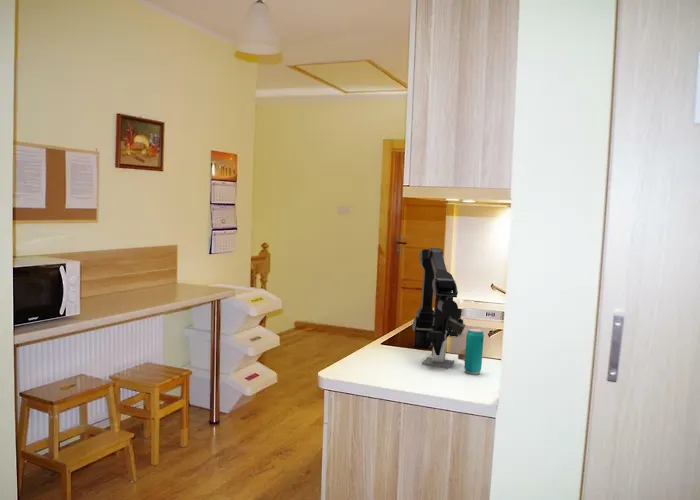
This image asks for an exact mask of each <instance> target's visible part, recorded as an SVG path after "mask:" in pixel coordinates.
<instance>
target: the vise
mask: <svg viewBox="0 0 700 500" xmlns="http://www.w3.org/2000/svg"><path fill="white" fill-rule="evenodd" d="M465 350H466V348H465V349H464V348H461V350H459V352H458V354H457V359H458V360H462V361H463V360H464V361H465ZM432 355H433V349H432V350H431V356H432Z"/></svg>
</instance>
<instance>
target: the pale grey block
mask: <svg viewBox="0 0 700 500" xmlns="http://www.w3.org/2000/svg"><path fill="white" fill-rule="evenodd" d="M447 339H448V338H447ZM447 339H446V340H444V341H443V343H442V347H441V351H440V355H436V353H435V350H434V347H433V346H432V350H433V355H432V354H431V356H432V362H439V363H444V361H445V359H446V354H447V353H446V351H447Z"/></svg>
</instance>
